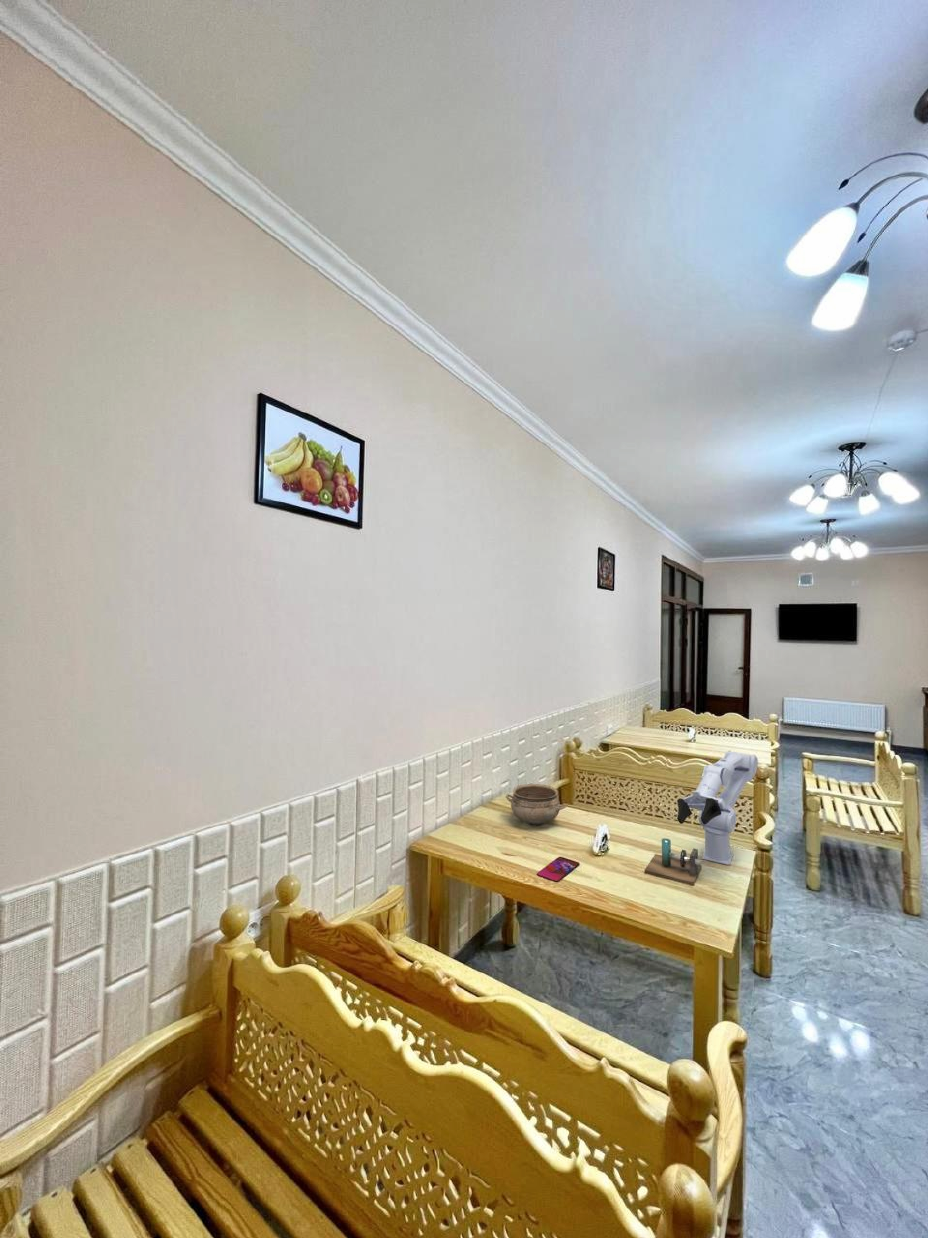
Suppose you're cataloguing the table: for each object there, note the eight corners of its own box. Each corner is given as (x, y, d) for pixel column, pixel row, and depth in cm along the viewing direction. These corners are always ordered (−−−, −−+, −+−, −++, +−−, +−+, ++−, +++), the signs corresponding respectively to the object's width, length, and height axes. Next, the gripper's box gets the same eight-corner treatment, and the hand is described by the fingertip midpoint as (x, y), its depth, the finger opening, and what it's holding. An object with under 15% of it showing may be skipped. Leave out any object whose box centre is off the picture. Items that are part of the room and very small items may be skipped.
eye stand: (655, 857, 167) (655, 835, 167) (701, 868, 159) (701, 845, 159) (644, 873, 156) (644, 849, 156) (693, 886, 148) (693, 861, 148)
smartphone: (535, 873, 156) (559, 855, 167) (535, 876, 156) (559, 858, 167) (557, 882, 151) (580, 862, 162) (557, 885, 151) (580, 865, 162)
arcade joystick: (664, 860, 161) (663, 836, 162) (702, 869, 155) (702, 845, 155) (660, 866, 157) (659, 842, 157) (699, 876, 151) (699, 851, 151)
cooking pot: (574, 820, 198) (574, 789, 199) (557, 838, 182) (557, 804, 182) (516, 809, 211) (516, 779, 211) (495, 824, 195) (495, 793, 195)
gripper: (679, 782, 165) (663, 810, 156) (722, 781, 154) (707, 810, 145) (689, 801, 166) (674, 829, 157) (733, 800, 155) (719, 830, 146)
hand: (691, 821), depth 151 cm, fingers open, 7 cm apart
